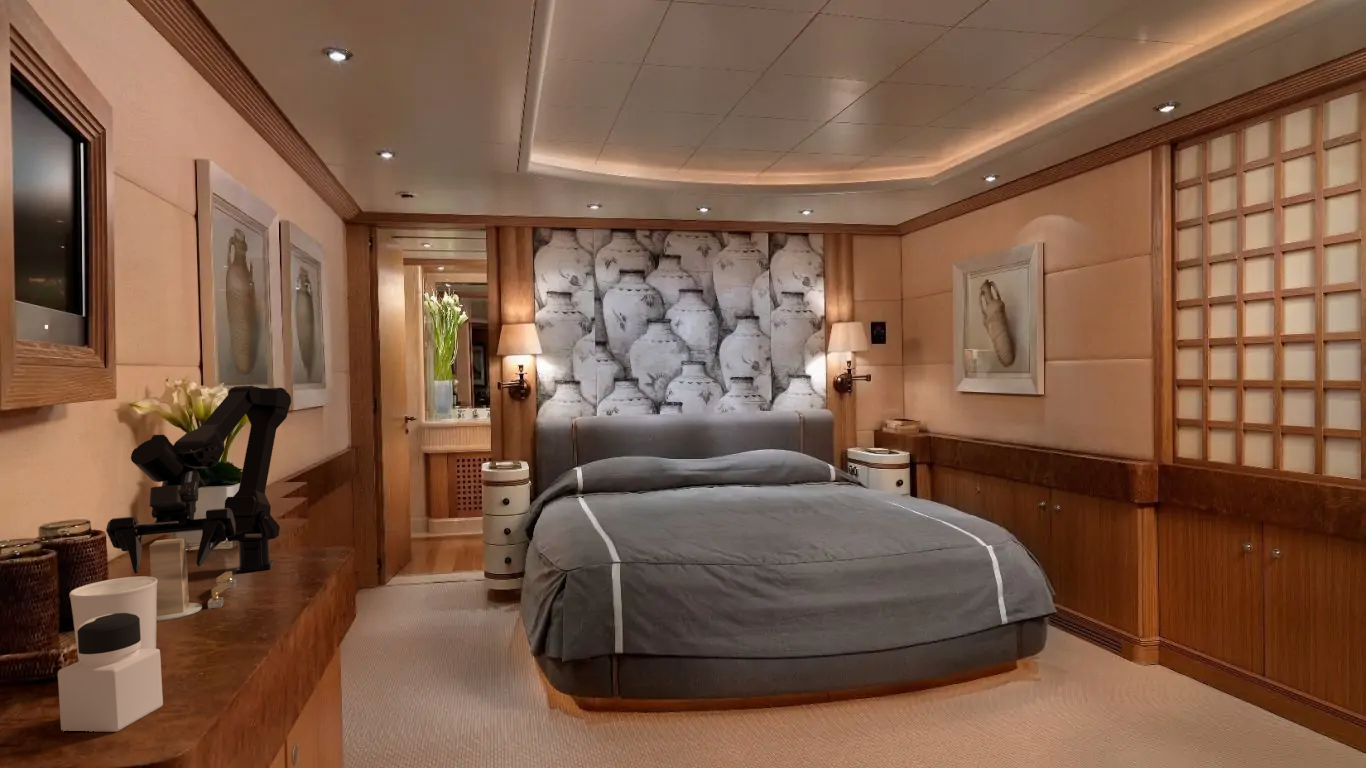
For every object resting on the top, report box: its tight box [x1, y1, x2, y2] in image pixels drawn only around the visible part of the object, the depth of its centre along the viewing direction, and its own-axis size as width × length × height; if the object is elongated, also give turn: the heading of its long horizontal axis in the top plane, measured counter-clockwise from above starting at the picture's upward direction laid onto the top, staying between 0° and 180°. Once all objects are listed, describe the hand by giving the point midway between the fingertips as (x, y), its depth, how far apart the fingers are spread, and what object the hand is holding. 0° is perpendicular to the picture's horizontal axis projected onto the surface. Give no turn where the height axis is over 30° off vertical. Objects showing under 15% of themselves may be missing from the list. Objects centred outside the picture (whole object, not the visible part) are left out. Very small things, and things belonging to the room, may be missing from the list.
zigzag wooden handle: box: [207, 570, 237, 610], centre depth 147 cm, size 16×3×3 cm, turn 21°
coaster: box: [156, 602, 203, 622], centre depth 137 cm, size 9×9×1 cm
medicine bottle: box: [57, 613, 164, 733], centre depth 93 cm, size 7×7×12 cm
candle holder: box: [68, 575, 158, 662], centre depth 109 cm, size 10×10×12 cm
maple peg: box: [149, 537, 190, 616], centre depth 137 cm, size 4×4×12 cm
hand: (167, 568), depth 135 cm, fingers open, 9 cm apart
